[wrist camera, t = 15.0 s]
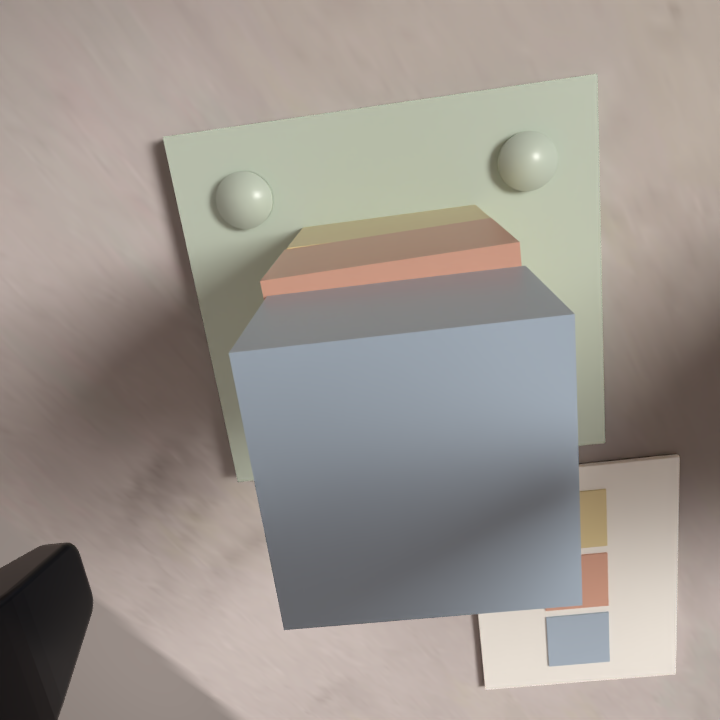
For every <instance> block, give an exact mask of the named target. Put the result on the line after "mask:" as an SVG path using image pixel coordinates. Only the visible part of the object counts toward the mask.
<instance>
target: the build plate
mask: <svg viewBox="0 0 720 720" xmlns="http://www.w3.org/2000/svg"><path fill="white" fill-rule="evenodd" d="M163 141H164V145H165V150H166V155H167V159H168V164H169V168H170V173H171V178H172V182H173V187H174V191H175V196H176V200H177V205H178V210H179V214H180V219H181V223H182V228H183V233H184V237H185V242H186V246H187V251H188V255H189V260H190V265H191V269H192V274H193V278H194V283H195V288H196V292H197V297H198V301H199V306H200V310H201V315H202V320H203V324H204V329H205V333H206V338H207V343H208V347H209V352H210V356H211V361H212V365H213V370H214V375H215V379H216V384H217V388H218V393H219V398H220V402H221V407H222V411H223V416H224V420H225V425H226V430H227V434H228V439H229V443H230V448H231V453H232V457H233V462H234V466H235V471H236V476H237V480H238V482H244V481H254V477H253V472H252V467H251V462H250V457H249V452H248V447H247V442H246V437H245V432H244V427H243V422H242V417H241V412H240V407H239V402H238V397H237V392H236V387H235V382H234V377H233V372H232V367H231V362H230V357H229V352H230V350H231V349H232V347H233V346H234V344H235V343H236V341H237V340H238V339H239V337H240V336H241V334H242V333H243V331H244V330H245V328H246V327H247V325H248V324H249V322H250V321H251V319H252V318H253V316H254V315H255V313H256V312H257V310H258V309H259V307H260V306H261V304H262V303H263V301H264V298H263V293H262V288H261V283H260V280H261V279H262V278H263V277H264V275H265V274H266V273H267V271H268V270H269V269H270V268H271V266H272V265H273V264H274V263H275V261H276V260H277V259H278V257H279V256H280V255H281V254H282V252H283V251H284V250H285V249H292V248H298V247H305V246H311V245H318V244H324V243H331V242H337V241H344V240H350V239H357V238H363V237H370V236H376V235H383V234H389V233H396V232H402V231H409V230H415V229H422V228H428V227H435V226H441V225H448V224H454V223H461V222H467V221H474V220H480V219H487V218H492V219H493V220H495V221H496V222H497V223H498V224H499V225H500V226H502V227H503V228H504V229H505V230H506V231H508V232H509V233H510V234H511V235H512V236H513V237H515V238H516V239H517V240H518V241H519V242H520V251H521V264H522V266H527V267H528V268H529V269H530V270H531V271H532V272H533V273H534V274H535V275H536V276H537V277H538V278H539V279H540V280H541V281H542V282H543V283H544V284H545V285H546V286H547V287H548V288H549V289H550V290H551V291H552V292H553V293H554V294H555V295H556V296H557V297H558V298H559V299H560V300H561V301H562V302H563V303H564V304H565V305H566V306H567V307H568V308H569V309H570V310H571V311H572V312H573V313H574V314H575V339H576V377H577V415H578V446H583V445H593V444H602V443H605V410H604V362H603V314H602V267H601V219H600V171H599V124H598V76H597V74H592V75H585V76H578V77H571V78H564V79H557V80H550V81H543V82H537V83H530V84H523V85H516V86H509V87H502V88H495V89H488V90H482V91H475V92H468V93H461V94H454V95H447V96H440V97H433V98H427V99H420V100H413V101H406V102H399V103H392V104H385V105H378V106H372V107H365V108H358V109H351V110H344V111H337V112H330V113H324V114H317V115H310V116H303V117H296V118H289V119H282V120H275V121H269V122H262V123H255V124H248V125H241V126H234V127H227V128H220V129H214V130H207V131H200V132H193V133H186V134H179V135H172V136H165V137H163Z"/></svg>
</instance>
